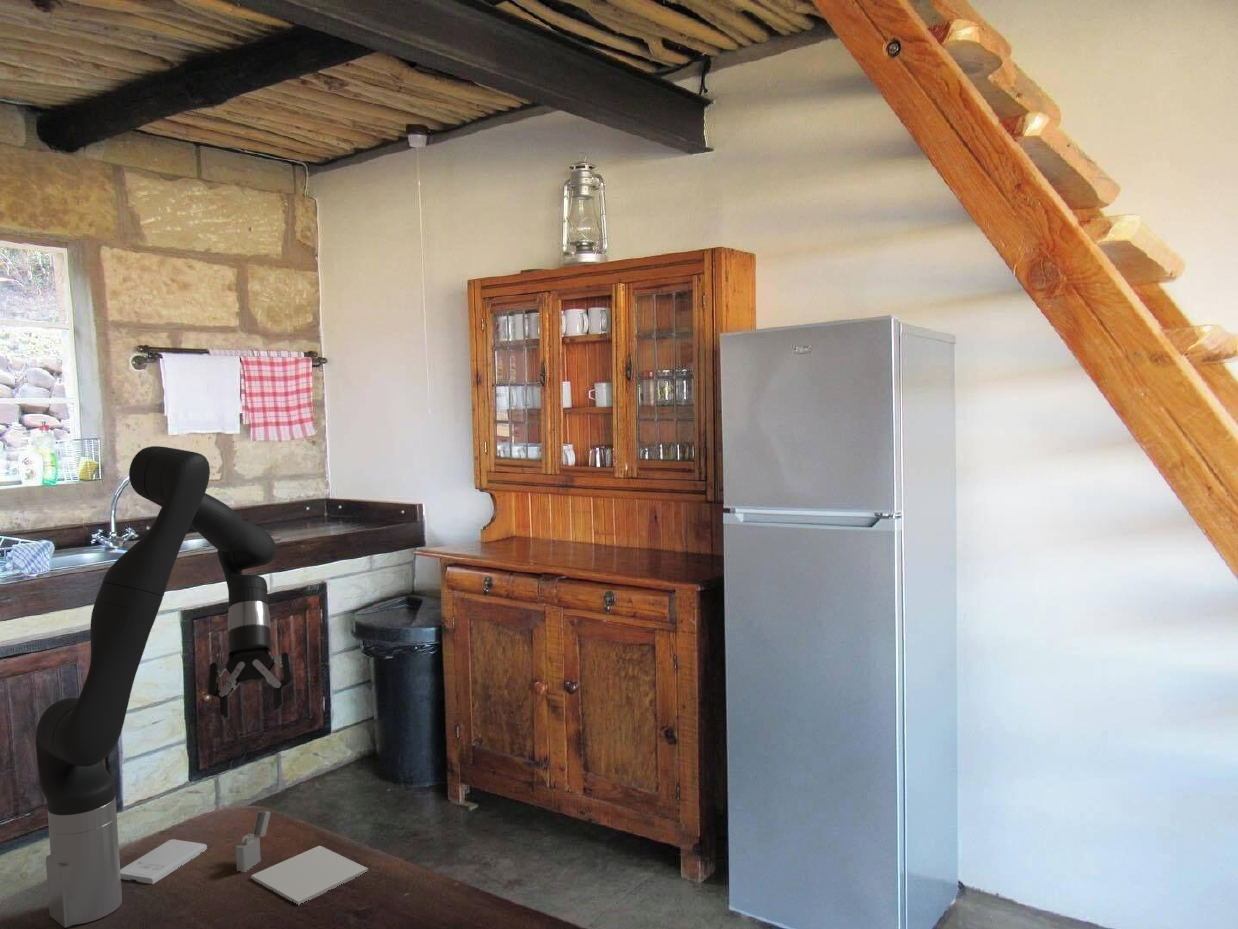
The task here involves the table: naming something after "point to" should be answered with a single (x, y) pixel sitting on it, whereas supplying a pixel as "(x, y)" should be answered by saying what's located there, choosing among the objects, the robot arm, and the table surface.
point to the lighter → (252, 843)
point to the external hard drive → (161, 861)
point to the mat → (309, 874)
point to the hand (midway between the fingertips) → (252, 714)
